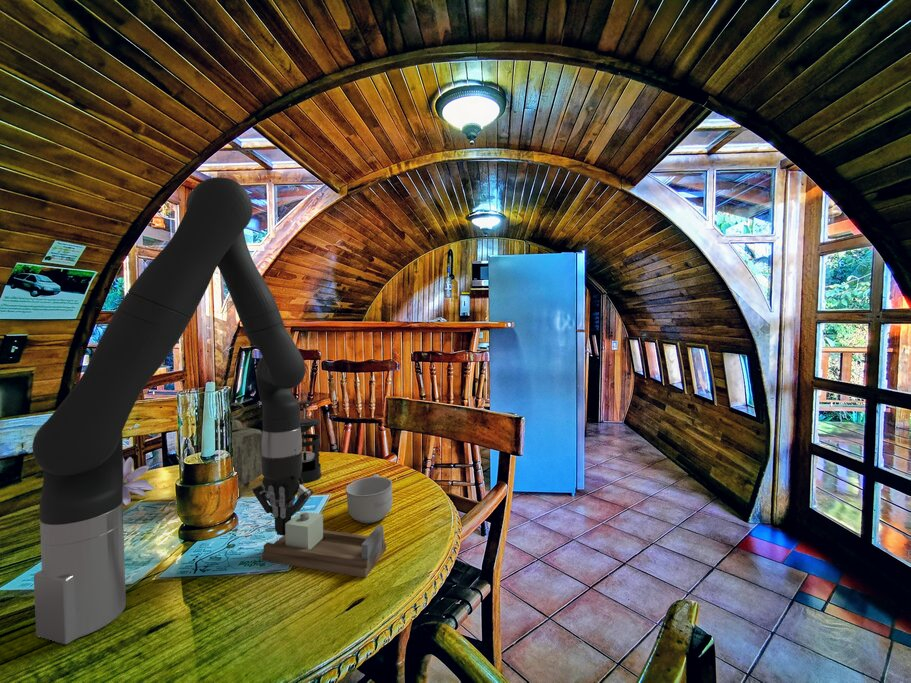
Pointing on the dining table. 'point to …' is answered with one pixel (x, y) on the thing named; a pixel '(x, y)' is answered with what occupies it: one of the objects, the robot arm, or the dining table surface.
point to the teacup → (369, 498)
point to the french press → (311, 459)
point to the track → (332, 553)
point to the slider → (304, 530)
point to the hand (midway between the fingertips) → (283, 533)
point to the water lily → (132, 485)
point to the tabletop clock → (246, 451)
